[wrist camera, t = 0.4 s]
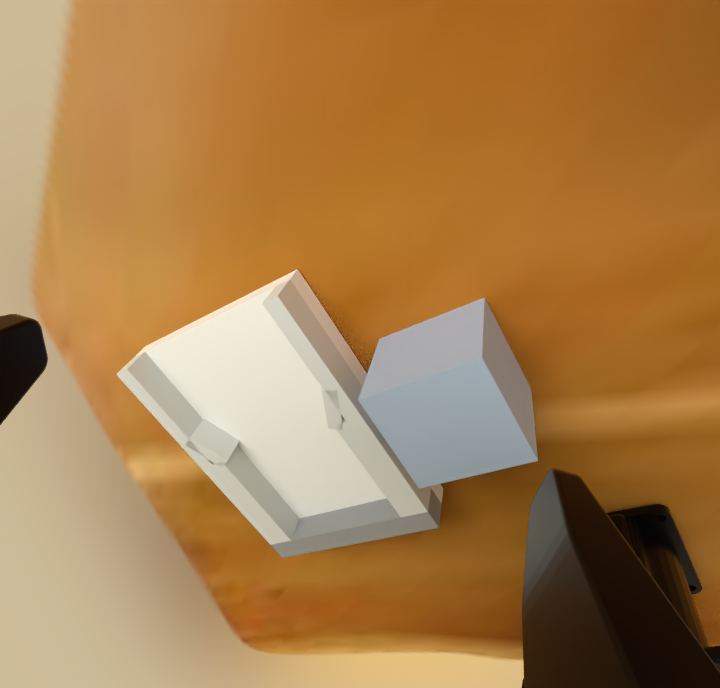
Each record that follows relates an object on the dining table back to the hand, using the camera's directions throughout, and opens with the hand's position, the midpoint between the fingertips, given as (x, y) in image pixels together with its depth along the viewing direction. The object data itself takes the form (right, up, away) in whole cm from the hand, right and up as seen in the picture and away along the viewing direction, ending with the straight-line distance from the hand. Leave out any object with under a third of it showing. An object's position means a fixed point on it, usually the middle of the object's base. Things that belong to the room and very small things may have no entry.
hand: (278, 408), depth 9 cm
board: (-2, -3, +18) cm, 18 cm away
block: (+6, 0, +14) cm, 15 cm away
